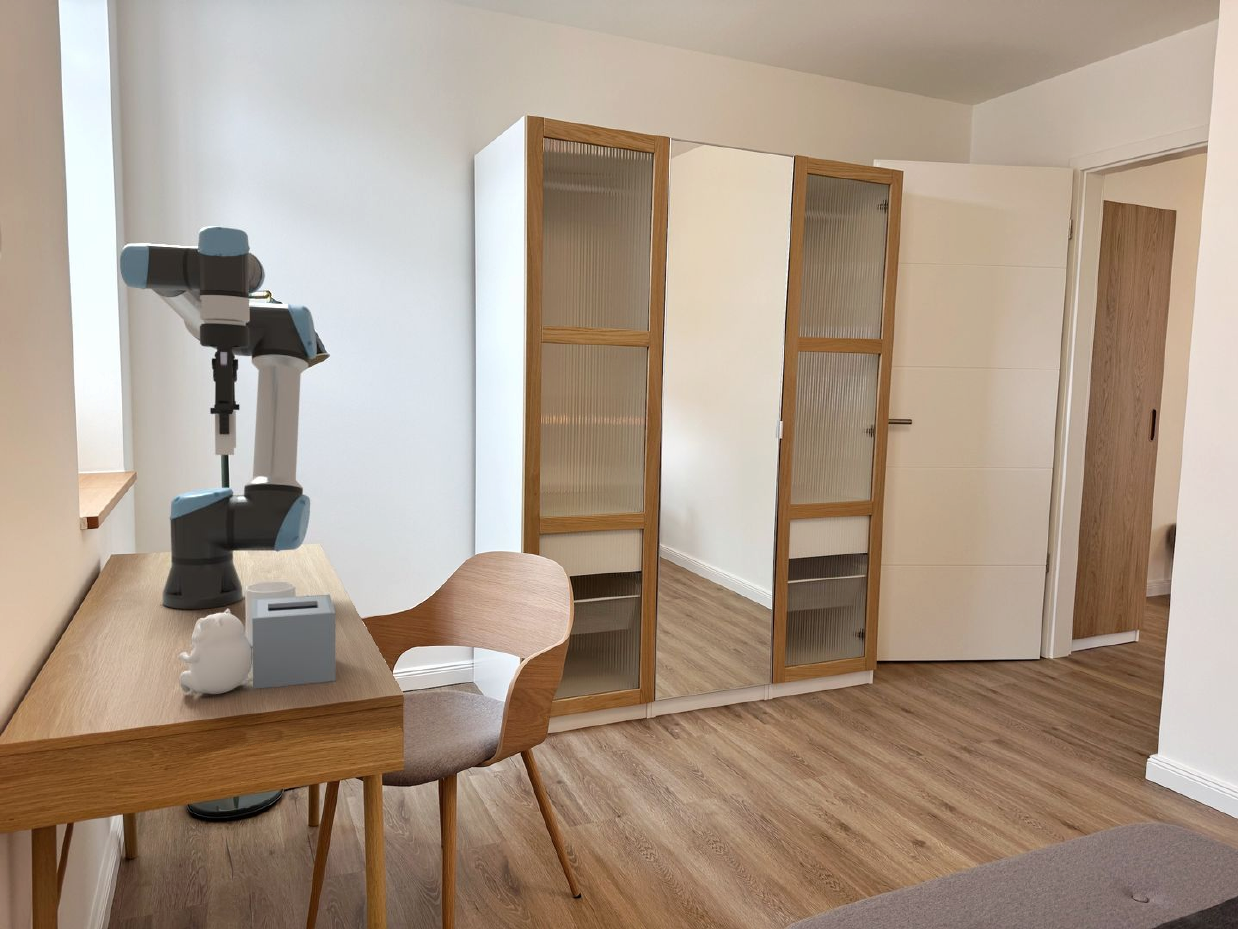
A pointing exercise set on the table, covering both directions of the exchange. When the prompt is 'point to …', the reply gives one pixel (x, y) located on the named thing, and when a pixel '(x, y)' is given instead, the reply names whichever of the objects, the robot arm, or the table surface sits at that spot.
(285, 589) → the cup
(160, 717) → the table surface
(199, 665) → the figurine
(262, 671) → the coin box
